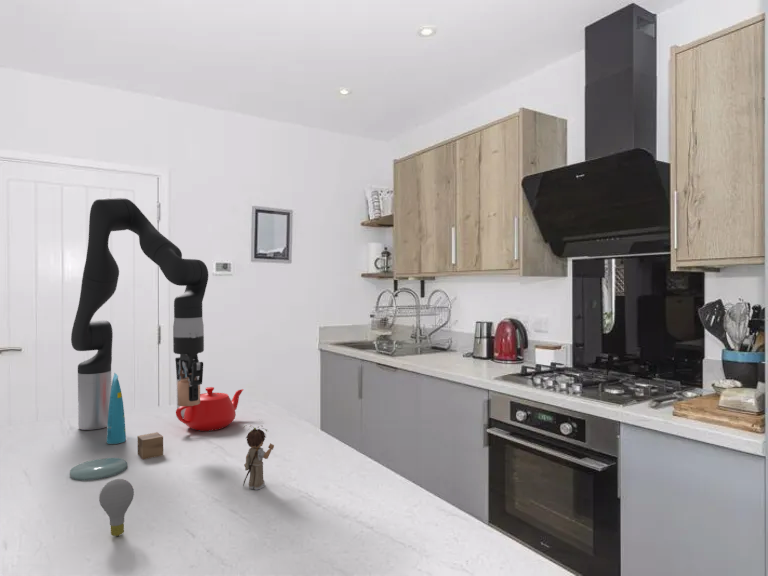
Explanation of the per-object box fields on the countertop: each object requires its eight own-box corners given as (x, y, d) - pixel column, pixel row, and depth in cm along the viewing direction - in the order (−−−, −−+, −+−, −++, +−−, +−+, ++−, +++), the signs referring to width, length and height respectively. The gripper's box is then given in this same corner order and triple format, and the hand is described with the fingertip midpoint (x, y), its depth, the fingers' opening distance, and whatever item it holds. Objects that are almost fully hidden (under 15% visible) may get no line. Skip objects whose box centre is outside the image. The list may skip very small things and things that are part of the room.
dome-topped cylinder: (174, 403, 135) (174, 378, 135) (195, 400, 139) (195, 376, 139) (182, 407, 131) (181, 381, 131) (203, 404, 135) (203, 378, 135)
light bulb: (108, 529, 94) (107, 474, 94) (139, 527, 94) (138, 473, 94) (93, 544, 88) (93, 486, 88) (126, 542, 89) (126, 485, 89)
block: (137, 454, 135) (137, 435, 135) (157, 450, 138) (157, 432, 138) (142, 459, 131) (142, 440, 131) (163, 455, 134) (163, 436, 134)
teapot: (192, 440, 147) (192, 397, 147) (161, 431, 156) (161, 391, 156) (259, 420, 168) (259, 383, 168) (228, 413, 177) (228, 378, 176)
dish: (65, 469, 124) (65, 465, 124) (120, 458, 132) (119, 454, 132) (75, 484, 115) (75, 480, 115) (133, 471, 123) (133, 467, 123)
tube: (128, 443, 144) (128, 375, 144) (109, 446, 141) (108, 377, 141) (122, 437, 150) (121, 371, 150) (103, 440, 147) (103, 373, 147)
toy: (275, 483, 115) (275, 416, 114) (262, 492, 109) (261, 423, 109) (251, 480, 117) (251, 414, 117) (237, 489, 111) (236, 421, 111)
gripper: (164, 333, 138) (165, 396, 138) (183, 337, 127) (184, 405, 127) (192, 332, 143) (193, 392, 143) (213, 335, 132) (214, 401, 132)
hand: (189, 398), depth 135 cm, fingers closed on dome-topped cylinder, 5 cm apart
